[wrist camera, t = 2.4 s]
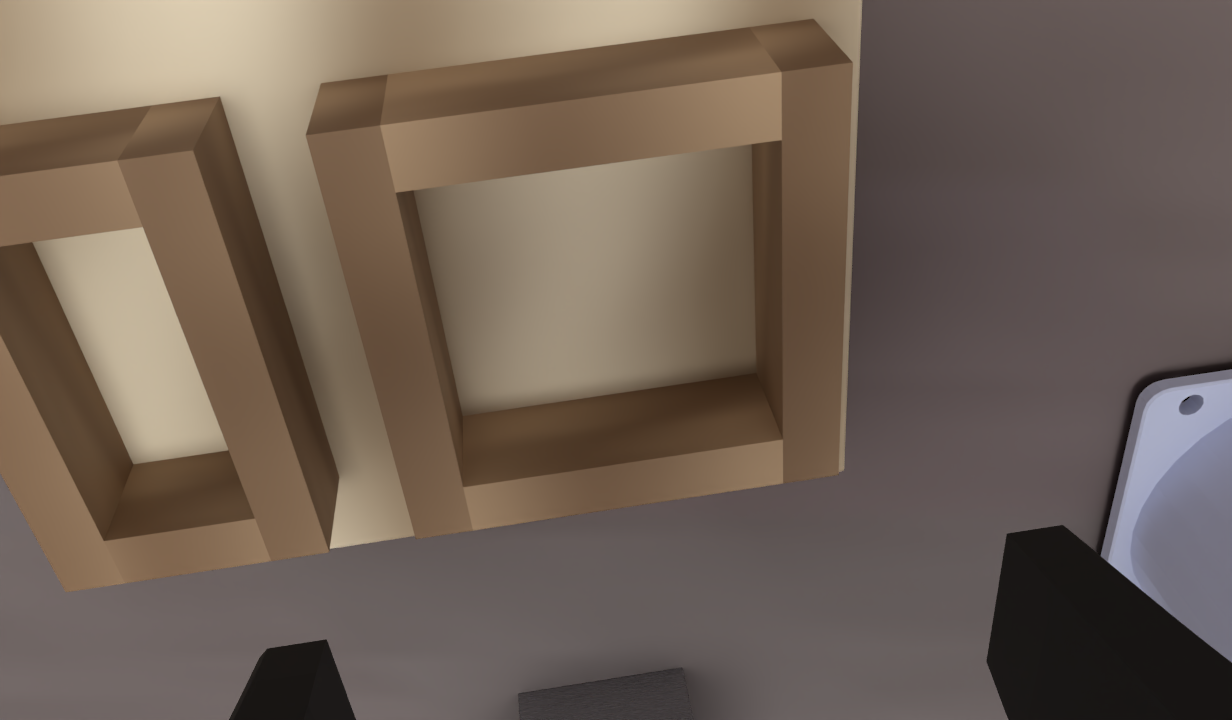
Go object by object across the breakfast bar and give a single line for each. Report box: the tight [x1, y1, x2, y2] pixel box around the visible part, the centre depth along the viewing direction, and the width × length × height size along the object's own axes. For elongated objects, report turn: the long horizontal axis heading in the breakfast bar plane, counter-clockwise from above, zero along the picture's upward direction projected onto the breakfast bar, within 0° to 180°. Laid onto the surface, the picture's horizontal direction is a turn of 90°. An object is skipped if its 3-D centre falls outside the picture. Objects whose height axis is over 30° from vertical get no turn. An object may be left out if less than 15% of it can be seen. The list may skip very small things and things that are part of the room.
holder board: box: [0, 0, 862, 592], centre depth 18 cm, size 15×11×3 cm
